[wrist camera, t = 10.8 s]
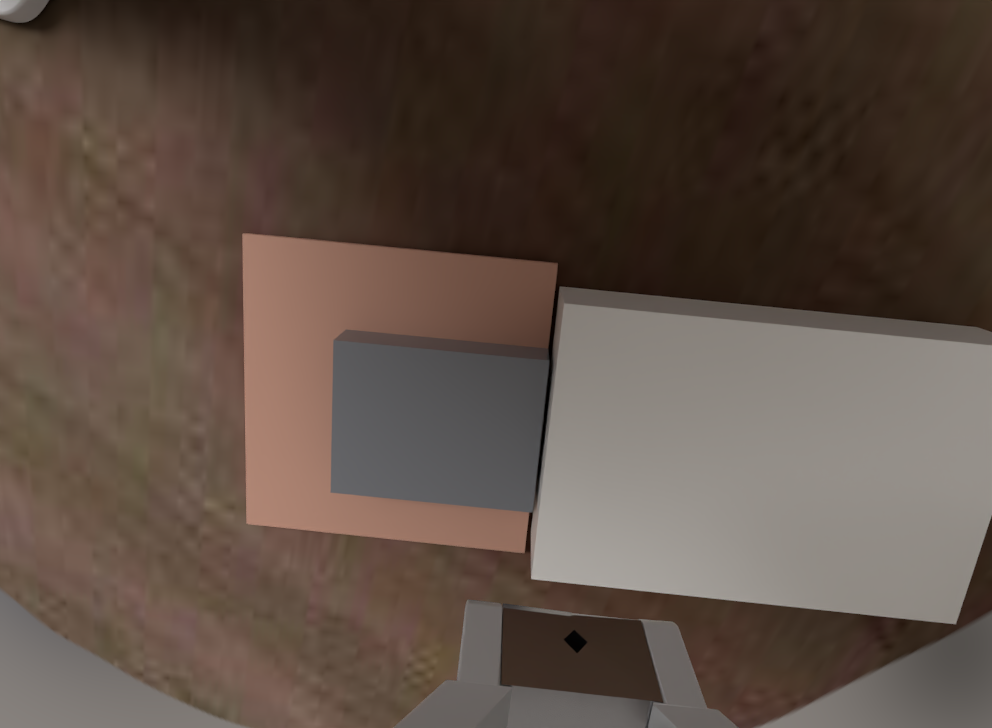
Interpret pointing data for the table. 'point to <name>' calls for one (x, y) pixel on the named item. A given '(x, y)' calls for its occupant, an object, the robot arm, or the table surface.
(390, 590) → the table surface
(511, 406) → the gray flat block
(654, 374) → the block
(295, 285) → the mat
